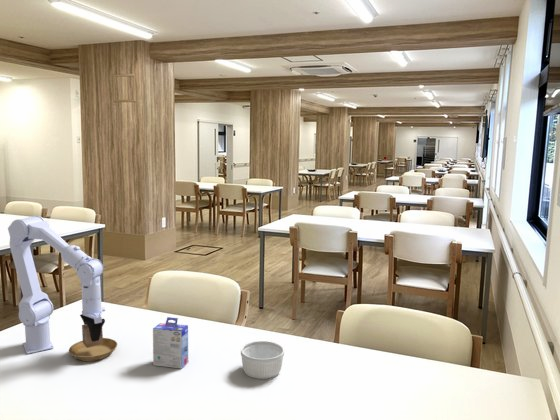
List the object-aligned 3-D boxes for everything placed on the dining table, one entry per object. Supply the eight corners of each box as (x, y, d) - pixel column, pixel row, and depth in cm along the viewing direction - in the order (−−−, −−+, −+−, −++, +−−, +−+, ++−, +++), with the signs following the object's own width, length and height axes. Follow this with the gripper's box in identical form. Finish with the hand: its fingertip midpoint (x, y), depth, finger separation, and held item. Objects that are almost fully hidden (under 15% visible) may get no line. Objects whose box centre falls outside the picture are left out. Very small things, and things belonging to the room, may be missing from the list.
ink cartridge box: (189, 361, 149) (188, 317, 147) (182, 369, 144) (181, 324, 142) (160, 358, 151) (159, 315, 149) (152, 366, 146) (151, 321, 144)
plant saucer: (100, 341, 164) (100, 333, 164) (126, 352, 156) (126, 344, 155) (60, 356, 152) (59, 348, 152) (85, 369, 144) (85, 361, 143)
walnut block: (82, 342, 154) (81, 325, 153) (98, 338, 157) (97, 321, 156) (87, 347, 150) (85, 329, 149) (103, 343, 153) (102, 326, 152)
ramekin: (290, 366, 147) (291, 345, 146) (272, 385, 135) (272, 362, 134) (253, 358, 152) (253, 337, 151) (232, 375, 141) (232, 353, 140)
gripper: (110, 301, 148) (112, 342, 150) (98, 289, 159) (99, 327, 161) (87, 305, 144) (89, 347, 146) (76, 293, 155) (77, 332, 157)
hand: (93, 337), depth 153 cm, fingers closed on walnut block, 5 cm apart
